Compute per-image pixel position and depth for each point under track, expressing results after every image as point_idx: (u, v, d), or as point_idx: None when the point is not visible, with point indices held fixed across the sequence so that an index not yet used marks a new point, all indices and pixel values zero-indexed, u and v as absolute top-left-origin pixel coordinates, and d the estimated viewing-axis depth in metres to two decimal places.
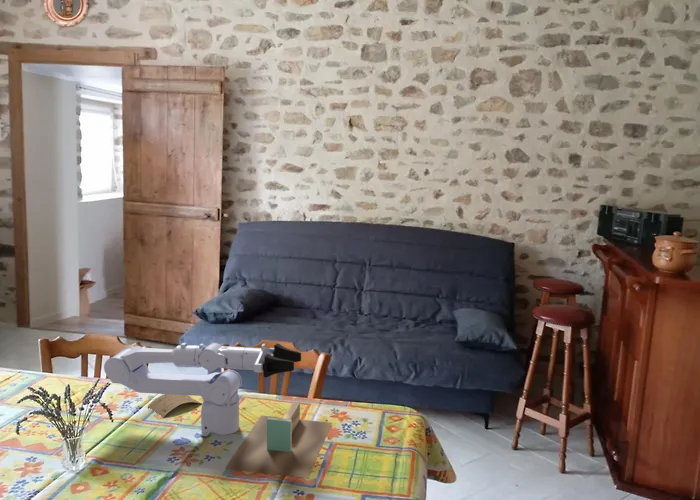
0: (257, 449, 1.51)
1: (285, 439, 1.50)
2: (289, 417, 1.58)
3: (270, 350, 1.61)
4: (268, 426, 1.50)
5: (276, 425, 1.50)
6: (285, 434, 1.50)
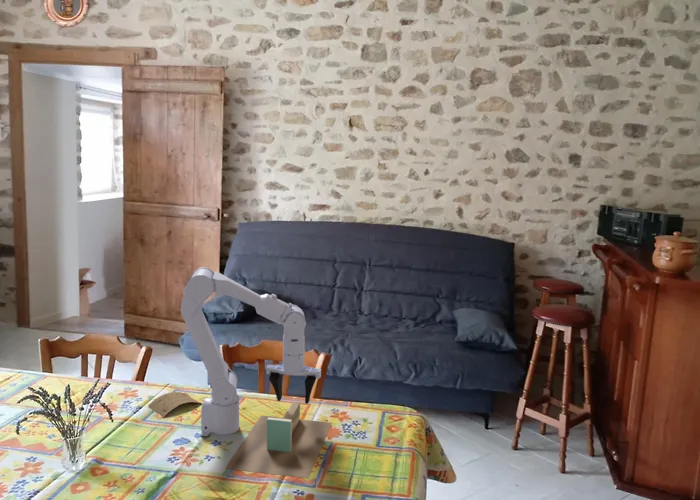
0: (257, 449, 1.51)
1: (285, 439, 1.50)
2: (289, 417, 1.58)
3: None
4: (268, 426, 1.50)
5: (276, 425, 1.50)
6: (285, 434, 1.50)
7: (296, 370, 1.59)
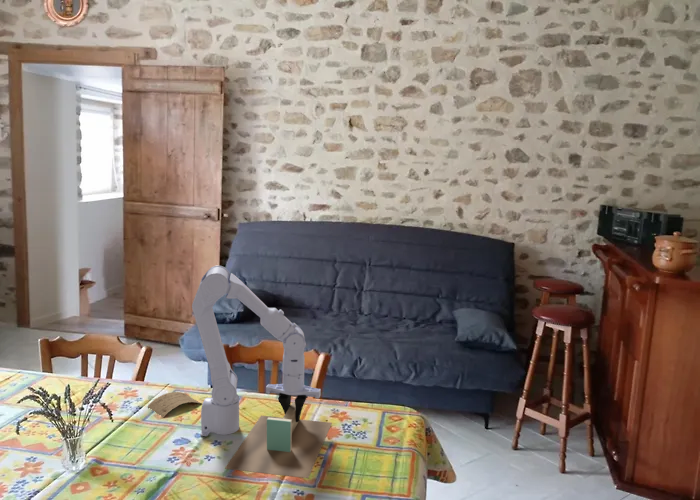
0: (257, 449, 1.51)
1: (285, 439, 1.50)
2: (289, 417, 1.58)
3: None
4: (268, 426, 1.50)
5: (276, 425, 1.50)
6: (285, 434, 1.50)
7: (296, 390, 1.60)
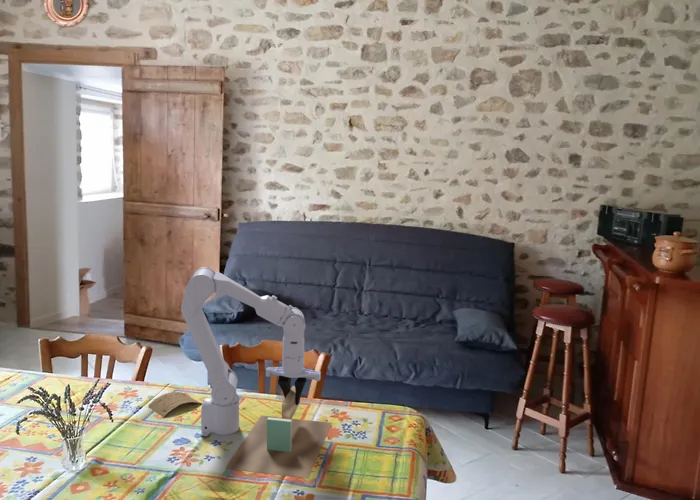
0: (257, 449, 1.51)
1: (285, 439, 1.50)
2: (289, 401, 1.57)
3: None
4: (268, 426, 1.50)
5: (276, 425, 1.50)
6: (285, 434, 1.50)
7: (296, 372, 1.59)
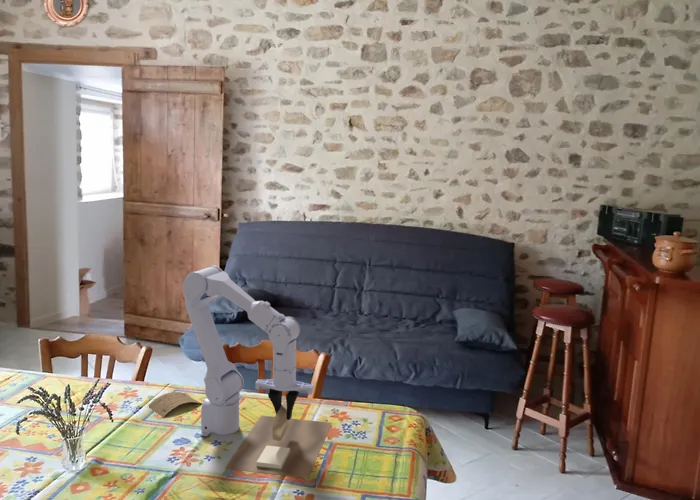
0: (257, 449, 1.51)
1: None
2: (280, 418, 1.49)
3: None
4: None
5: None
6: None
7: (287, 386, 1.50)
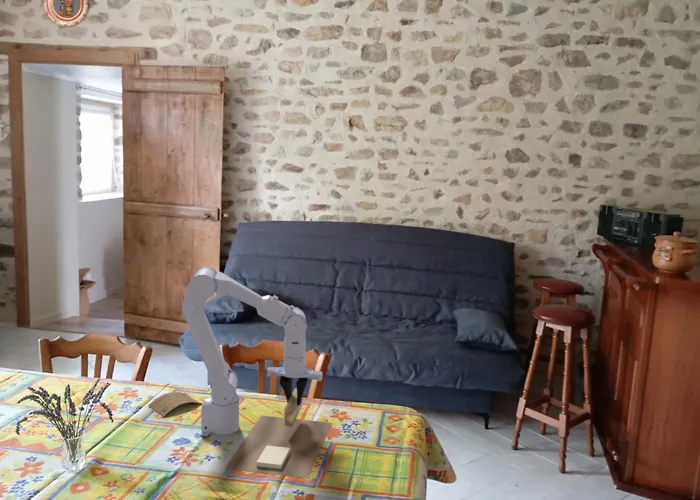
0: (257, 449, 1.51)
1: None
2: (291, 406, 1.58)
3: None
4: None
5: None
6: None
7: (297, 373, 1.58)
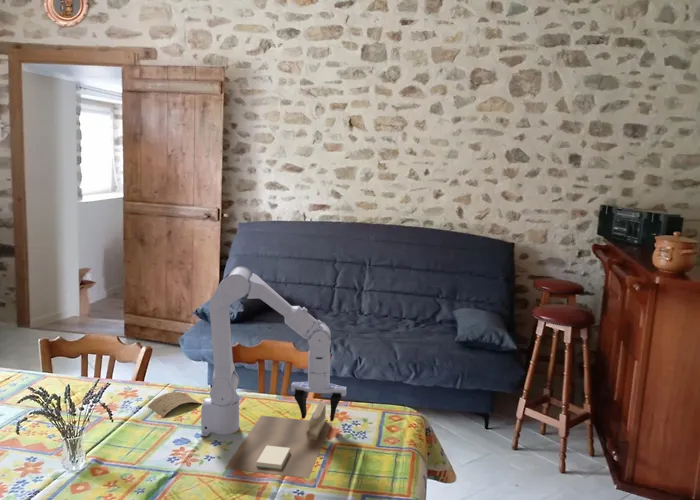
0: (257, 449, 1.51)
1: None
2: (316, 418, 1.57)
3: None
4: None
5: None
6: None
7: (322, 388, 1.58)
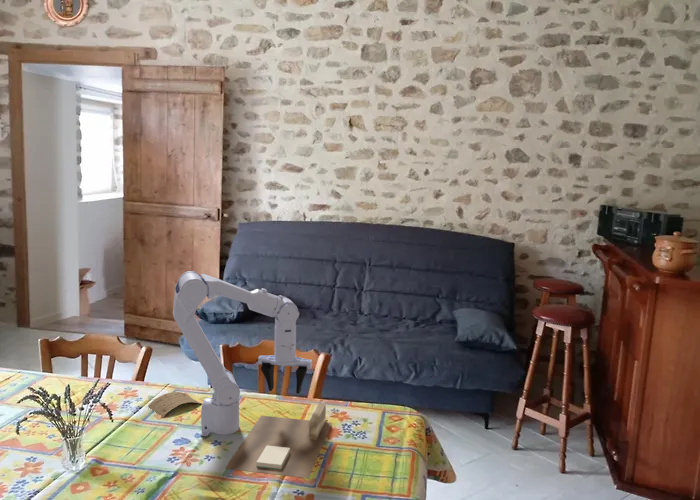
0: (257, 449, 1.51)
1: None
2: (316, 418, 1.57)
3: None
4: None
5: None
6: None
7: (287, 360, 1.61)
